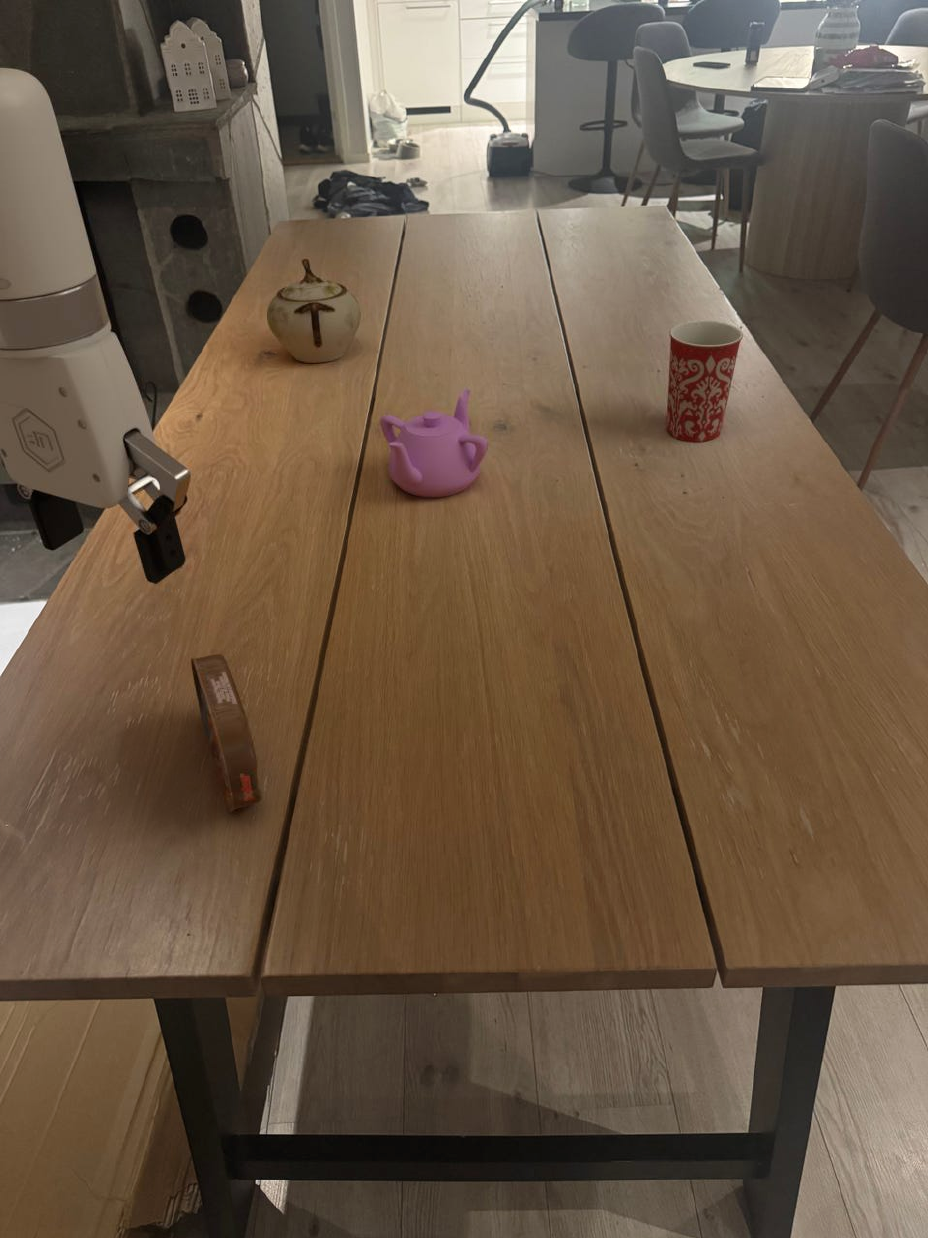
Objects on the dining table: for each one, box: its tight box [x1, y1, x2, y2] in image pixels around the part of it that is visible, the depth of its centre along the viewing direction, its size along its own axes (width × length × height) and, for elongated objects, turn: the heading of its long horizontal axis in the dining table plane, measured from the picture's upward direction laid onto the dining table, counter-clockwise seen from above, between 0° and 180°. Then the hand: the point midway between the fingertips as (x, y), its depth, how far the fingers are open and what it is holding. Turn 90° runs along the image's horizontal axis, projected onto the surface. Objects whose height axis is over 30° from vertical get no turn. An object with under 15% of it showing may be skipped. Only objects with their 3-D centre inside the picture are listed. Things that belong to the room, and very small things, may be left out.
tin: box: [190, 653, 263, 812], centre depth 75 cm, size 15×3×8 cm, turn 23°
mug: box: [665, 320, 744, 443], centre depth 122 cm, size 13×9×14 cm
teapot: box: [380, 389, 489, 498], centre depth 114 cm, size 12×14×9 cm
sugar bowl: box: [266, 258, 362, 364], centre depth 148 cm, size 20×15×15 cm
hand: (115, 556), depth 65 cm, fingers open, 9 cm apart
